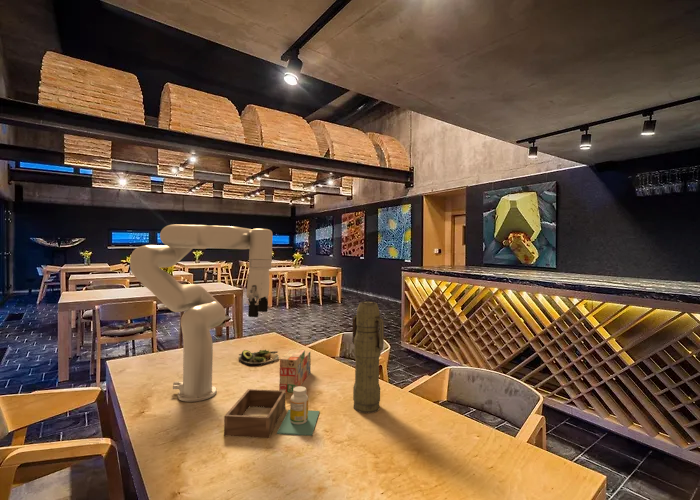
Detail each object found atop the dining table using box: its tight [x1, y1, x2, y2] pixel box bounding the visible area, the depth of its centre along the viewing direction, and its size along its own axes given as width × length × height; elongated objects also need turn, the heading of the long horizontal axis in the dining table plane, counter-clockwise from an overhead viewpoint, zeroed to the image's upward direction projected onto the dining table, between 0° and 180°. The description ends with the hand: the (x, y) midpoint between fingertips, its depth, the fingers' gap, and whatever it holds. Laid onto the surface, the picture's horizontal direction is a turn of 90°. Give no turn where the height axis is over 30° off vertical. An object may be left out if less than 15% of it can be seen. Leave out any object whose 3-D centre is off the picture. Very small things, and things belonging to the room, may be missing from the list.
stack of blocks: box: [278, 349, 312, 393], centre depth 135 cm, size 21×6×12 cm, turn 172°
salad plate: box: [238, 349, 280, 367], centre depth 163 cm, size 19×18×5 cm
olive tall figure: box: [351, 300, 385, 414], centre depth 114 cm, size 9×12×35 cm
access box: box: [223, 388, 287, 439], centre depth 104 cm, size 19×13×6 cm
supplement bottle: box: [289, 385, 309, 425], centre depth 103 cm, size 5×5×10 cm
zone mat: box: [276, 409, 320, 436], centre depth 103 cm, size 10×14×1 cm
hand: (258, 314), depth 118 cm, fingers open, 9 cm apart
